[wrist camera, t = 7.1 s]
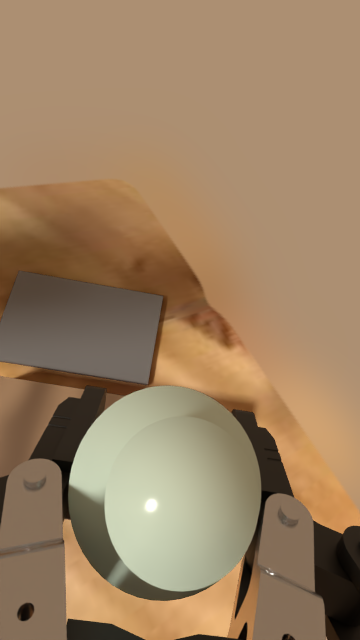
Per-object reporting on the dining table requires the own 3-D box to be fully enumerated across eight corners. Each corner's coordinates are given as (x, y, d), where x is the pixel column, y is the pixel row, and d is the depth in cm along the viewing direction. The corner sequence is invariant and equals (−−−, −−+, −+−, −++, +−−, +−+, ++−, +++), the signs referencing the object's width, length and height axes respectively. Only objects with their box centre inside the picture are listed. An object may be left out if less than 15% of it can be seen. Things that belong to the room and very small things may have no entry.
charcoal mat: (-11, 359, 34) (-13, 358, 33) (20, 273, 38) (18, 270, 37) (147, 385, 35) (147, 384, 34) (162, 298, 39) (163, 296, 38)
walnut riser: (-36, 495, 30) (-60, 502, 26) (3, 382, 33) (-14, 373, 30) (212, 529, 31) (222, 540, 27) (222, 417, 35) (232, 412, 31)
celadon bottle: (92, 515, 16) (-13, 667, 5) (114, 410, 18) (76, 338, 6) (193, 529, 16) (324, 703, 5) (204, 424, 18) (318, 379, 7)
